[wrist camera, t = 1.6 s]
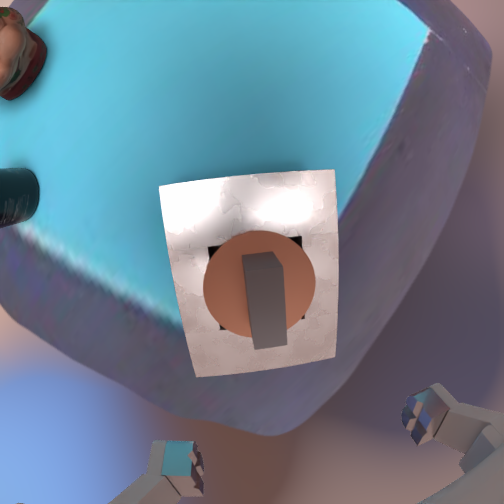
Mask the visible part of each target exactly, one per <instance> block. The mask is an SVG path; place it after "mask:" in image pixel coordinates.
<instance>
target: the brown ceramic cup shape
mask: <svg viewBox="0 0 504 504" xmlns="http://www.w3.org/2000/svg"><path fill="white" fill-rule="evenodd" d="M45 57H46V46H45V44H44V42H43V41H42V39H41V38H40V37H39V36H37V35H36V34H34V33H33V32H31V31H30V30H29V29H28V28H26V27H25V23H24V19H23V17H22V15H21V14H20V13H19V12H18V11H17V10H15V9H13V8H9V7H0V96H1V97H3V98H5V99H6V100H12V99H14V98H16V97H18V96H20V95H21V94H22V93H23V92H24V91H25V90H26V89H27V88H28V87H29V86H30V85H31V83H32V82H33V81H34V79H35V78H36V76H37V75H38V73H39V71H40V70H41V68H42V66H43V63H44V61H45Z"/></svg>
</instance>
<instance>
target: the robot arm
mask: <svg viewBox="0 0 504 504" xmlns="http://www.w3.org/2000/svg"><path fill="white" fill-rule="evenodd" d="M406 404H407V405H406V406H405V408H404V409H403V410H402V413H401V421H402V423H403V426H404V427H405V429H407V430H410V431H411V435H410V436H411V437H412V439H413V440H414V442H415V443H416V444H417V446H418V445H421V444H423V443H425V442H427V441H429V440H431V439H433V438H434V440H436V441H438V442H440V443H442V444H444V445H446V446H449V447H451V448H453V449H455V450H457V451H459V452H462V453H464V454H465V455H464V457H463V458H462V459H461V460H460V462H459V466H460V467H461V469H462V470H463V471H464V473H465V474H464V475H463V476H461V477H460V478H459V479H457V480H455V481H454V482H452V483H451V484H450V485H448V486H446V487H445V488H443V489H442V490H440V491H438V492H437V493H435V494H433V495H432V496H430V497H428V498H426V499H424V500H423V501H421V502H419V503H417V504H504V414H503V413H499V412H495V411H491V410H487V409H483V408H479V407H476V406H471V405H468V404H464V403H461V404H459V403H458V402H457V401H456V400H455V399H454V398H453V397H452V396H451V394H450V393H449V392H448V391H447V390H446V389H445V388H444V387H443V386H442V385H441V384H439V383H436V384H434V385H432V386H430V387H428V388H425V389H423V390H421V391H419V392H416V393H414V394H412V395H409V397H407V399H406ZM203 474H204V462H203V457H202V455H201V453H200V452H199V451H198V446H197V444H196V442H195V441H162V440H161V441H160V440H154V442H153V443H152V448H151V452H150V457H149V462H148V468H147V473H146V474H142V475H141V476H140V477H139V478H138V479H136V480H135V481H134V482H133V483H132V484H131V485H130V486H128V487H127V488H126V489H125V490H124V491H123V492H121V494H119V495H118V496H117V497H116V498H114V499H113V500H112V501H111V502H110V503H108V504H177V502H178V501H179V500H180V499H181V496H204V482H203V480H202V478H201V476H202V475H203ZM17 504H23V503H17Z"/></svg>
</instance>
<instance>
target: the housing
mask: <svg viewBox="0 0 504 504" xmlns="http://www.w3.org/2000/svg"><path fill="white" fill-rule="evenodd" d="M159 191H160V200H161V207H162V215H163V222H164V228H165V235H166V241H167V247H168V253H169V259H170V265H171V270H172V276H173V281H174V286H175V291H176V296H177V300H178V305H179V310H180V314H181V319H182V323H183V327H184V332H185V336H186V340H187V344H188V348H189V352H190V356H191V360H192V363H193V367H194V371H195V374H196V377H205V376H217V375H228V374H237V373H246V372H254V371H261V370H268V369H275V368H281V367H287V366H293V365H298V364H304V363H309V362H314V361H319V360H323V359H328V358H332V357H335V351H336V336H337V316H338V270H339V265H338V218H337V198H336V183H335V170H334V169H331V170H306V171H289V172H275V173H262V174H251V175H240V176H231V177H222V178H213V179H205V180H198V181H190V182H183V183H177V184H170V185H164V186H159ZM251 231H271V232H275V233H279V234H281V235H284V236H286V237H288V238H290V239H291V240H292V241H294V242H295V243H296V244H297V245H299V246H300V247H301V248H302V249H303V250H304V252H305V253H306V254H307V256H308V257H309V259H310V261H311V263H312V266H313V268H314V272H315V280H316V285H315V293H314V297H313V300H312V302H311V305H310V307H309V308H308V310H307V312H306V313H305V314H304V316H303V317H302V318H301V319H300V320H299V321H298V322H297V323H296V324H295V325H293V326H292V327H291V328H289V329H287V345H285V346H279V347H272V348H265V349H258V350H254V345H253V340H252V338H250V337H244V336H240V335H237V334H235V333H232V332H230V331H228V330H227V329H225V328H224V327H222V326H221V325H220V324H219V323H218V322H217V321H216V320H215V319H214V318H213V316H212V315H211V314H210V312H209V310H208V308H207V306H206V303H205V300H204V295H203V280H204V275H205V271H206V268H207V265H208V263H209V261H210V259H211V257H212V256H213V254H214V253H215V252H216V251H217V250H218V248H219V247H220V246H222V245H223V244H224V243H225V242H227V241H228V240H230V239H231V238H233V237H235V236H237V235H239V234H243V233H246V232H251Z"/></svg>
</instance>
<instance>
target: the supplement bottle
mask: <svg viewBox="0 0 504 504" xmlns="http://www.w3.org/2000/svg"><path fill="white" fill-rule="evenodd" d="M38 194H39V193H38V184H37V181H36V178H35V177H34V175H33V174H32V172H30V171H29V170H27V169H24V168H6V169H0V228H3V227H6V226H10V225H13V224H17V223H20V222H23V221H26V220H27V219H29V218H30V217H31V216H32V214H33V213H34V211H35V209H36V206H37V203H38Z"/></svg>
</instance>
